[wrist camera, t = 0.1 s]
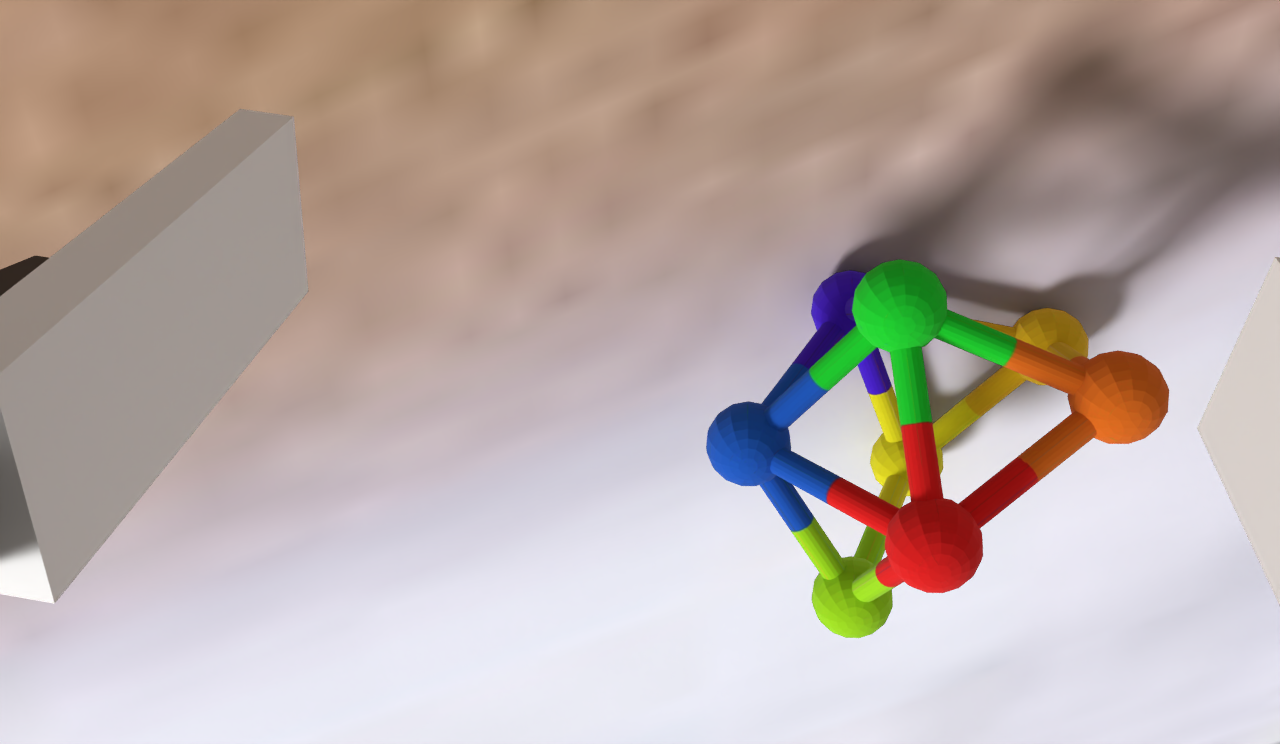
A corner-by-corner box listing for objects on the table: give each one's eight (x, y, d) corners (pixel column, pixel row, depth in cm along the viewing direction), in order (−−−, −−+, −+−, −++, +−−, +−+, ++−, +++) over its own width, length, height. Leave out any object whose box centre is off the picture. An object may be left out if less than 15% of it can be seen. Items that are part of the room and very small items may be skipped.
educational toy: (844, 123, 44) (879, 273, 31) (1118, 272, 46) (1264, 475, 32) (661, 420, 51) (626, 646, 38) (905, 540, 53) (953, 795, 39)
